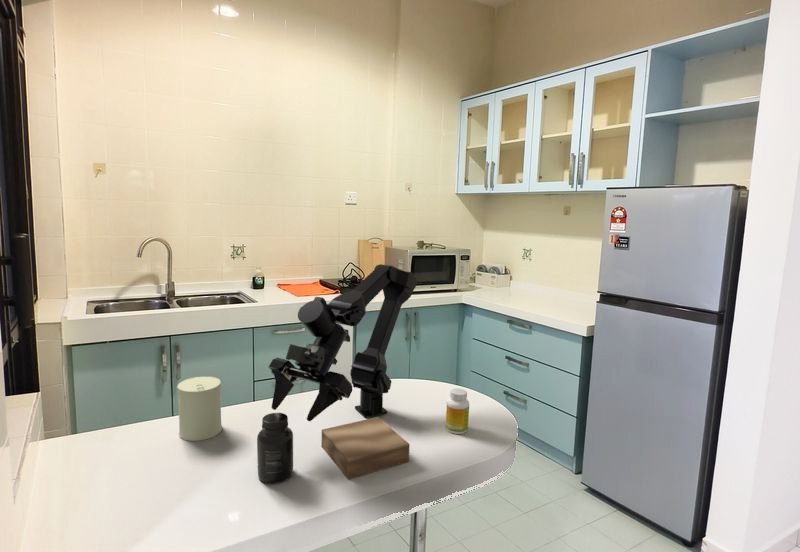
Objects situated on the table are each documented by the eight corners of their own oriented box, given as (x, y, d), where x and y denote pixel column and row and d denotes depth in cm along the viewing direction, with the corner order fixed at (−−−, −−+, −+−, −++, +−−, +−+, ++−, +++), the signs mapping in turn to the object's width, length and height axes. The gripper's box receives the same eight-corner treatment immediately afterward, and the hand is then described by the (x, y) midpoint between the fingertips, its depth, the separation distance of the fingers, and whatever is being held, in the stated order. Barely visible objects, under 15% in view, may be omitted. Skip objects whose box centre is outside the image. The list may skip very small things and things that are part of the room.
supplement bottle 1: (300, 470, 96) (300, 414, 94) (278, 488, 90) (278, 429, 88) (273, 461, 99) (272, 407, 97) (249, 478, 93) (249, 420, 91)
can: (180, 444, 104) (178, 392, 102) (177, 426, 112) (175, 377, 110) (224, 436, 108) (223, 386, 107) (219, 419, 117) (218, 372, 115)
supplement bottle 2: (466, 436, 113) (469, 397, 111) (444, 433, 114) (446, 394, 112) (468, 425, 118) (470, 388, 117) (446, 422, 119) (448, 385, 118)
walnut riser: (321, 446, 106) (321, 429, 105) (377, 432, 113) (377, 416, 112) (348, 479, 94) (348, 460, 93) (408, 461, 101) (409, 444, 100)
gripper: (274, 321, 103) (234, 386, 95) (345, 336, 94) (308, 409, 86) (298, 347, 111) (263, 409, 103) (366, 363, 102) (334, 432, 94)
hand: (290, 414), depth 96 cm, fingers open, 9 cm apart
